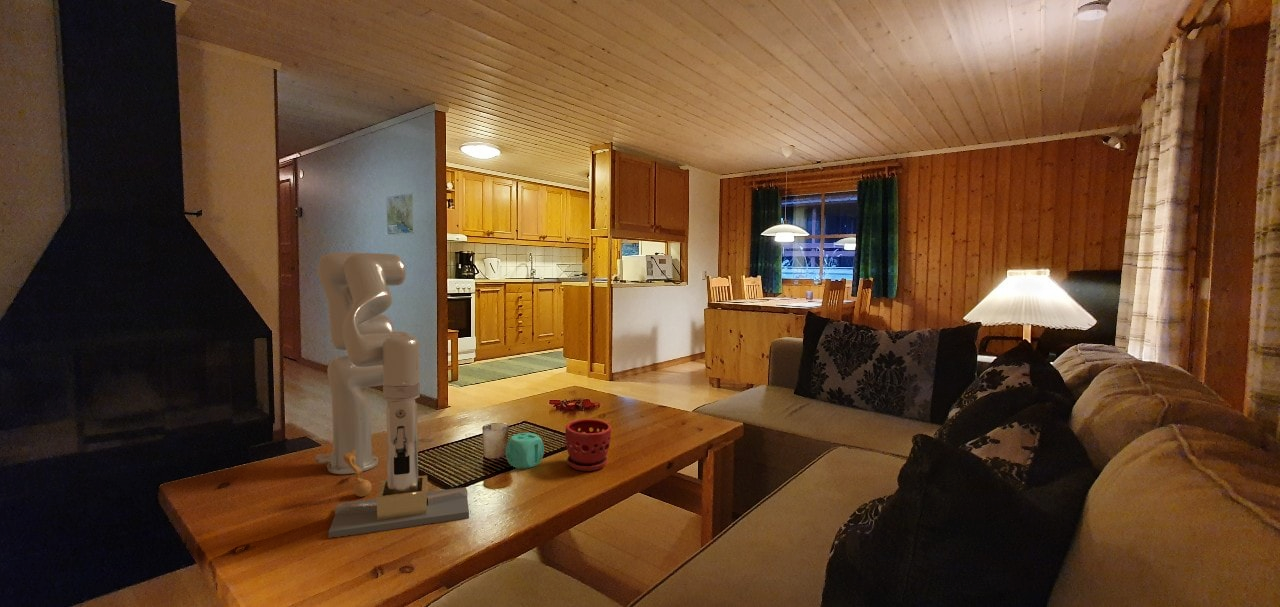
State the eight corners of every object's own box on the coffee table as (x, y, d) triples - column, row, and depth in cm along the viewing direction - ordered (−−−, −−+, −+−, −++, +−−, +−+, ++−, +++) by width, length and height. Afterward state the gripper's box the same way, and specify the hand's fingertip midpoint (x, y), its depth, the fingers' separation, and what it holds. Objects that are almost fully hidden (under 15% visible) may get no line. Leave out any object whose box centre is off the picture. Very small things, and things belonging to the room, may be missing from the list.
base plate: (328, 538, 111) (328, 531, 111) (340, 509, 124) (340, 503, 124) (468, 518, 121) (468, 511, 121) (466, 492, 134) (465, 487, 134)
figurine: (374, 500, 129) (373, 452, 128) (346, 506, 125) (345, 456, 124) (369, 487, 136) (368, 442, 135) (342, 493, 132) (341, 446, 131)
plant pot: (556, 470, 150) (556, 428, 149) (579, 454, 162) (579, 416, 161) (598, 477, 145) (598, 435, 144) (617, 461, 157) (618, 421, 156)
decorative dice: (526, 471, 148) (526, 443, 148) (504, 465, 152) (504, 438, 152) (544, 462, 155) (544, 435, 155) (523, 457, 159) (523, 430, 159)
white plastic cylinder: (407, 515, 118) (405, 405, 117) (381, 511, 120) (379, 403, 118) (424, 502, 125) (423, 398, 123) (400, 499, 126) (398, 396, 124)
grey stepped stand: (329, 527, 112) (329, 504, 112) (338, 506, 122) (337, 485, 121) (468, 507, 122) (468, 486, 122) (466, 490, 132) (466, 470, 131)
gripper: (418, 399, 113) (419, 480, 115) (420, 381, 129) (421, 453, 131) (379, 401, 111) (380, 485, 112) (386, 383, 127) (388, 456, 128)
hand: (402, 467), depth 121 cm, fingers open, 6 cm apart
